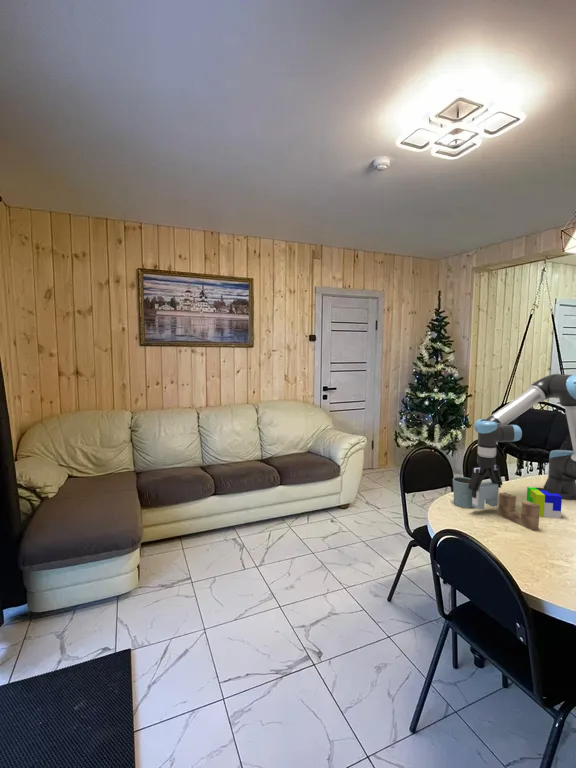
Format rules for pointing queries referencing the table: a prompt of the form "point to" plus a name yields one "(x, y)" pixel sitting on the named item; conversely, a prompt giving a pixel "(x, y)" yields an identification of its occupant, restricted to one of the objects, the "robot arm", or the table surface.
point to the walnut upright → (525, 518)
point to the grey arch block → (487, 495)
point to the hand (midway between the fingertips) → (484, 502)
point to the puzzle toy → (545, 501)
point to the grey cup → (462, 492)
